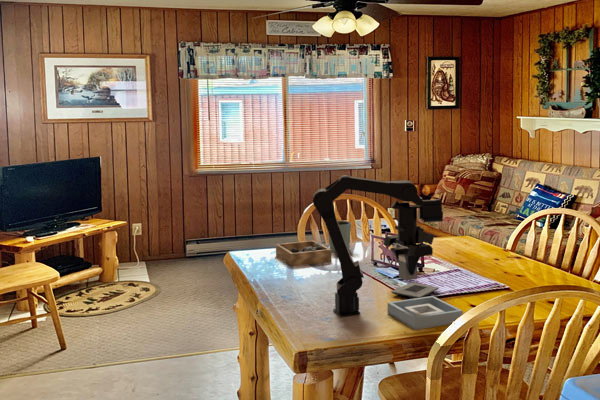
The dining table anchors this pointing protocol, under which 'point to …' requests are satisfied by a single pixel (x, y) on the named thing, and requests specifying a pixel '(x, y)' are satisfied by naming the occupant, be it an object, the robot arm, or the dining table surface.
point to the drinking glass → (345, 230)
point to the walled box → (423, 312)
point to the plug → (405, 269)
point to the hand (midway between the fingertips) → (407, 273)
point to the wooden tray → (302, 253)
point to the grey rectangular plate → (415, 290)
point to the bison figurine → (308, 248)
